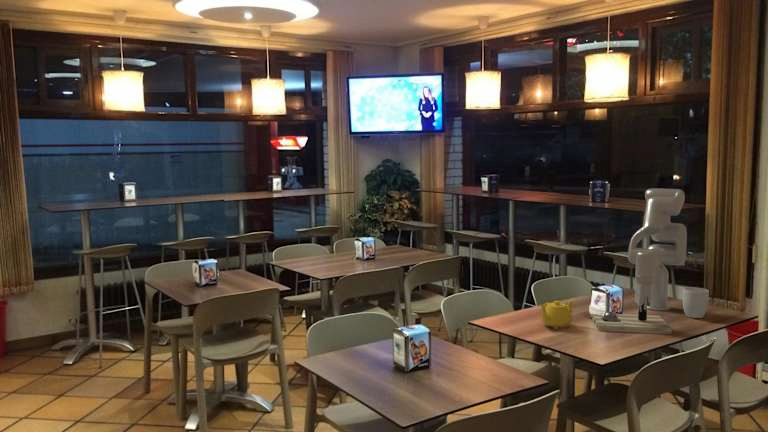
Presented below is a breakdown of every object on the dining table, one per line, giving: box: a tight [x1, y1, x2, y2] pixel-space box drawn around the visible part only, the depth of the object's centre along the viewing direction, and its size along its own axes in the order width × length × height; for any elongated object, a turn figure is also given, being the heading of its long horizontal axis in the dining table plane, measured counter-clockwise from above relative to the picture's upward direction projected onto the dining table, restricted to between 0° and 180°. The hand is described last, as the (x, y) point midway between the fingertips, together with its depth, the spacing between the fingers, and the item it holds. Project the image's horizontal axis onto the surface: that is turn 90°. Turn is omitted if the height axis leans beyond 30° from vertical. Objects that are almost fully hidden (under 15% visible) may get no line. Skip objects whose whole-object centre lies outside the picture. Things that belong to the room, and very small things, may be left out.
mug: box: [682, 286, 710, 319], centre depth 307 cm, size 15×11×13 cm
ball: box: [603, 311, 617, 322], centre depth 293 cm, size 6×6×6 cm
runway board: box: [590, 312, 673, 335], centre depth 292 cm, size 20×30×2 cm, turn 81°
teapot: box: [540, 298, 574, 330], centre depth 291 cm, size 20×15×12 cm
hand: (642, 320), depth 290 cm, fingers closed
